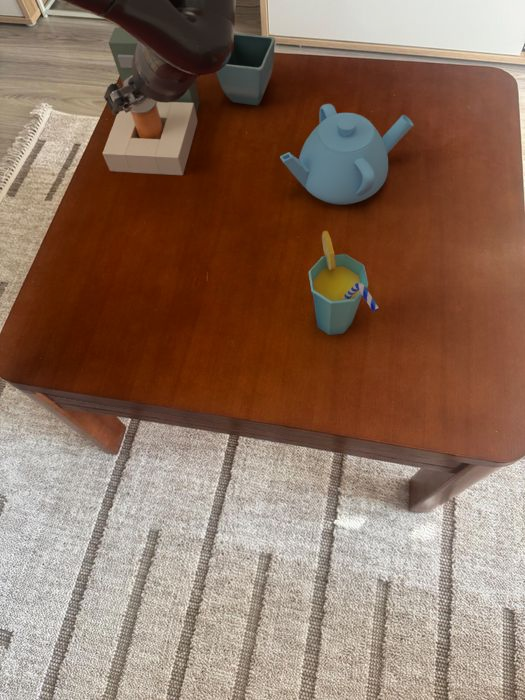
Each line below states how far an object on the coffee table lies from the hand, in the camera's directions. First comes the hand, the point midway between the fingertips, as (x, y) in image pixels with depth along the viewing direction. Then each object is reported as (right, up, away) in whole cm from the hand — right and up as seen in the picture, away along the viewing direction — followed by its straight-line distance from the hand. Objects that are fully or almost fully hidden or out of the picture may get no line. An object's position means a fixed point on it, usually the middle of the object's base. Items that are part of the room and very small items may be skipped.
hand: (149, 93), depth 78 cm
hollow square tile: (-3, -2, +16) cm, 16 cm away
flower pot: (+14, +9, +21) cm, 27 cm away
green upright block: (-1, +7, +20) cm, 21 cm away
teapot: (+30, -9, +10) cm, 33 cm away
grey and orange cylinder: (-2, -2, +16) cm, 16 cm away
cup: (+27, -34, -2) cm, 44 cm away
